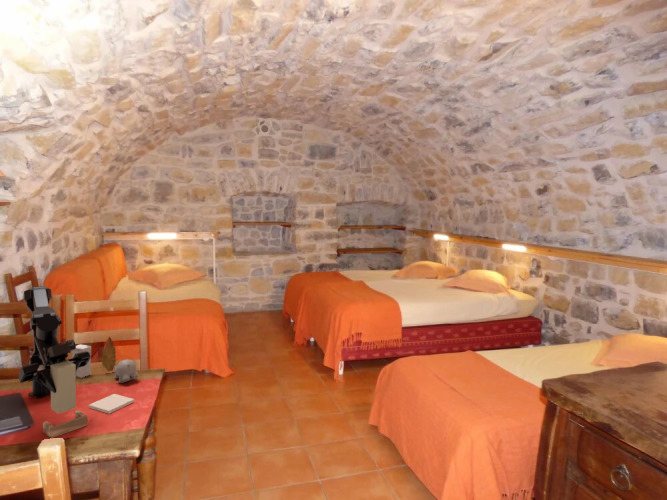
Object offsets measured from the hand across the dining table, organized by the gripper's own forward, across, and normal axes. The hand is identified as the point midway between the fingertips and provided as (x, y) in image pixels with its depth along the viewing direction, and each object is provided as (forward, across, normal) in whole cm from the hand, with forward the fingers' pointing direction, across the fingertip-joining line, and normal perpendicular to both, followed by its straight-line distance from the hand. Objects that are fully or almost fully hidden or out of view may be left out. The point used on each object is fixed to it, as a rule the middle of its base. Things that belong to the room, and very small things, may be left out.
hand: (65, 389), depth 127 cm
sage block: (+4, 0, +6) cm, 7 cm away
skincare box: (-20, +22, +38) cm, 48 cm away
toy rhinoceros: (-7, +30, +25) cm, 40 cm away
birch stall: (+9, 0, +9) cm, 13 cm away
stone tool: (-17, +31, +35) cm, 50 cm away
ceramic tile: (+5, +16, +12) cm, 21 cm away
